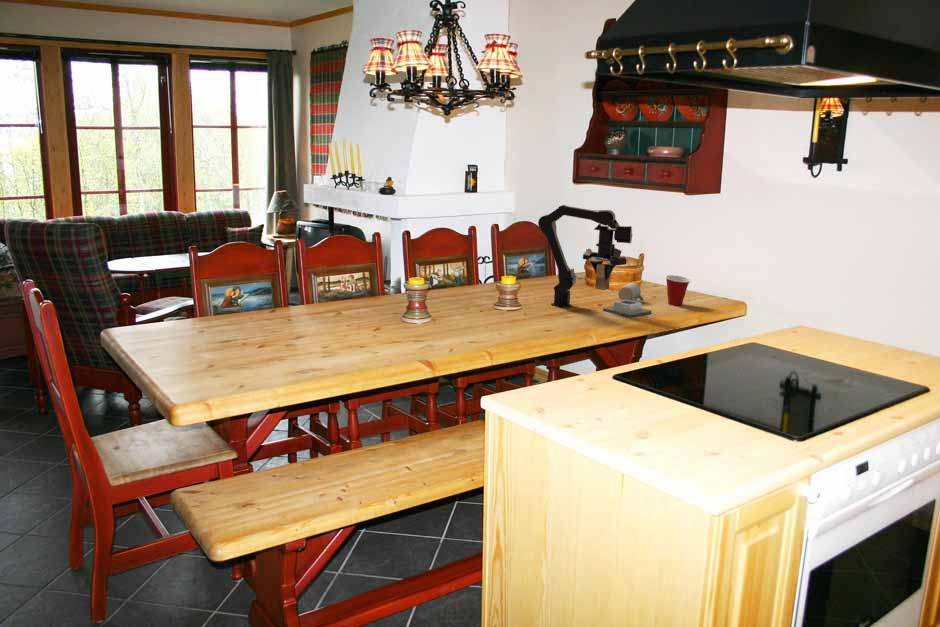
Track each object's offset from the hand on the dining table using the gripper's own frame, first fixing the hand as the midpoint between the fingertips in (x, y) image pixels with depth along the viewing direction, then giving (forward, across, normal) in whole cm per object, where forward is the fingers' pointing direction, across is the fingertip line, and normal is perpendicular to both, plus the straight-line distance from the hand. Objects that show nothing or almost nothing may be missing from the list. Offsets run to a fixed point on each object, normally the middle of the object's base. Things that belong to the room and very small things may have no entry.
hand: (602, 279), depth 317 cm
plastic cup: (+13, -12, -37) cm, 41 cm away
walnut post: (+4, 0, 0) cm, 4 cm away
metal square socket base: (+13, -9, -7) cm, 17 cm away
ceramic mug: (+13, +3, -25) cm, 28 cm away
